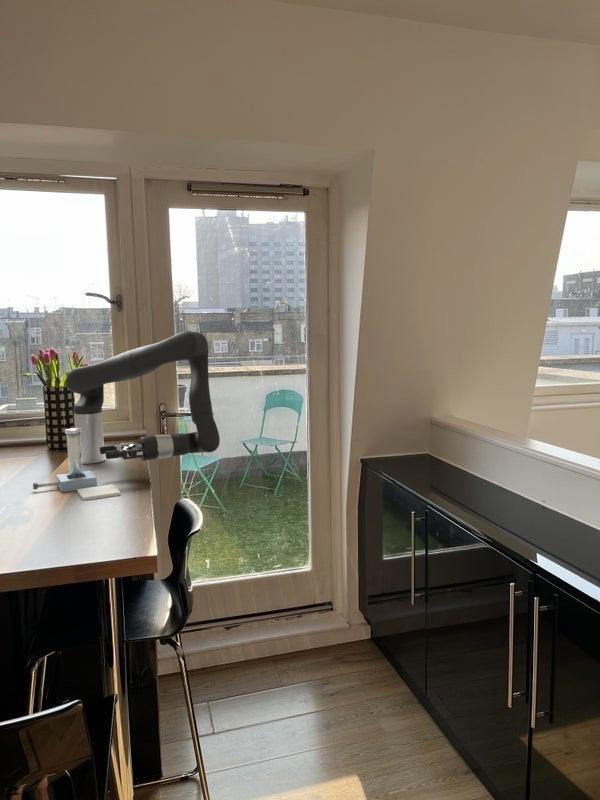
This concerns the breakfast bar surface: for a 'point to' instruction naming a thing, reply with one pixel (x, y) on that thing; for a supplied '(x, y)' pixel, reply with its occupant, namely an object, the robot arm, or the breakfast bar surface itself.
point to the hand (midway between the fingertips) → (102, 453)
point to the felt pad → (98, 492)
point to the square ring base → (71, 482)
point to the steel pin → (74, 452)
